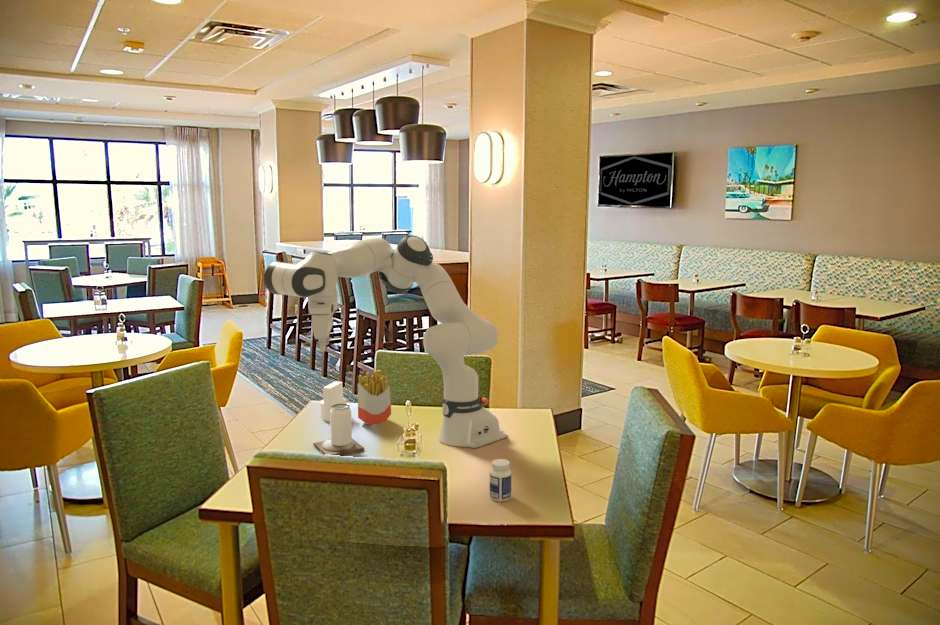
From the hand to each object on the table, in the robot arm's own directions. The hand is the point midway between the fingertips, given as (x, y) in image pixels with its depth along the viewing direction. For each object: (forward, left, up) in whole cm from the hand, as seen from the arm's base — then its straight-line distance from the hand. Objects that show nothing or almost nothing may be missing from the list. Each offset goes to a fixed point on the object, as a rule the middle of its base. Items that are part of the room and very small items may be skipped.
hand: (324, 347), depth 213 cm
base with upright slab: (-11, -22, -31) cm, 40 cm away
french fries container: (-21, -9, -31) cm, 39 cm away
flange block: (-1, +7, -31) cm, 32 cm away
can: (-2, +7, -30) cm, 31 cm away
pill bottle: (-24, +62, -31) cm, 74 cm away
